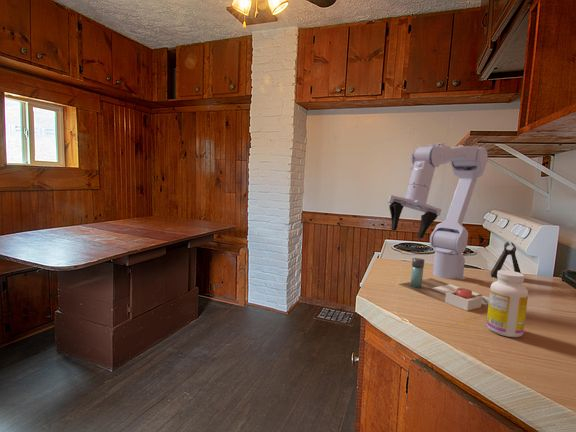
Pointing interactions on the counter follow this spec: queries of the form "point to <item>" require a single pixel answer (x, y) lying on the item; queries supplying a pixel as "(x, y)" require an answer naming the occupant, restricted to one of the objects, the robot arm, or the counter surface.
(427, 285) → the drawing board
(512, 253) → the black spring clamp
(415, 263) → the marker
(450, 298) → the button housing
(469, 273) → the counter surface
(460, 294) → the button
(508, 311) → the supplement bottle
